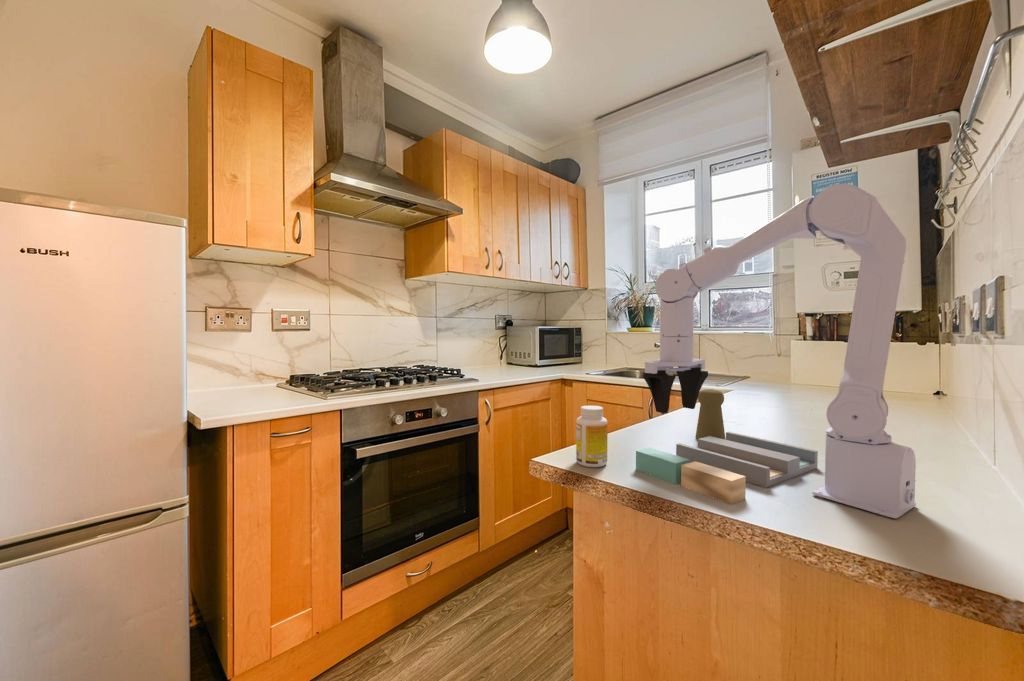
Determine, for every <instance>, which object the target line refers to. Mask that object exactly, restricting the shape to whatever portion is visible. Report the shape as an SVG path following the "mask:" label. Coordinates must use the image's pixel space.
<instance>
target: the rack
mask: <svg viewBox="0 0 1024 681" xmlns="http://www.w3.org/2000/svg"><path fill="white" fill-rule="evenodd" d="M725 439H726V440H725ZM725 439H720V438H716V437H712V436H708V437H704V438H700V439H698V440H697V446H696V447H695V446H691V445H687V444H684V443H680V442H678V443H676V445H675V446H676V447H675V451H676V452H675V455H676V456H679V457H683V458H686V459H689V460H690V463H691V462H694V461H696V462H700V463H703V464H706V465H710V466H713V467H716V468H720V469H723V470H726V471H730V472H733V473H736V474H740V475H743V476H746V481H747V482H746V483H749V482H751V483H750V484H752V483H753V485H755V484H756V486H758V485H759V486H758V487H762V488H765V487H766V488H765V489H767V488H770V487H773V486H775V485H777V484H780V483H782V482H785V481H788V480H790V479H792V478H795V477H798V476H800V475H803V474H806V473H808V472H811V471H813V470H816V469H817V468H818V459H819V458H818V456H819V455H818V450H816V449H815V450H814V449H810V448H806V447H802V446H796V445H793V444H789V443H788V444H787V443H782V442H777V441H773V440H769V439H765V438H761V437H759V438H758V437H755V436H750V435H746V434H741V433H737V432H732V431H725ZM772 485H773V486H772Z"/></svg>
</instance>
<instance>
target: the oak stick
mask: <svg viewBox="0 0 1024 681" xmlns="http://www.w3.org/2000/svg"><path fill="white" fill-rule="evenodd" d="M746 483H747V482H746V476H743V475H740V474H736V473H733V472H730V471H726V470H723V469H720V468H716V467H713V466H710V465H706V464H703V463H700V462H696V461H694V462H691V463H687V464H684V465H681V483H680V487H682V486H683V487H682V488H685V487H687V488H686V489H688V488H689V489H688V490H690V489H692V490H691V491H693V490H694V492H696V491H697V492H696V493H699V492H700V493H699V494H701V493H702V495H704V494H705V495H704V496H707V495H708V496H707V497H709V496H711V498H712V497H714V498H713V499H715V498H716V500H718V499H719V500H718V501H720V500H722V501H721V502H723V501H724V502H723V503H727V504H730V505H731V506H732V505H734V504H736V502H737V503H738V502H742V501H743V499H744V500H746V485H747V484H746ZM741 500H742V501H741Z"/></svg>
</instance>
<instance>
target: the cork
mask: <svg viewBox="0 0 1024 681" xmlns="http://www.w3.org/2000/svg"><path fill="white" fill-rule="evenodd" d="M697 401H698V402H699V404H700V405H699V406H700V407H699V412H698V419H697V423H696V424H697V425H696V431H695V437H694V439H695V438H696V439H697V441H698V439H700V438H704V437H708V436H712V437H716V438H720V439H725V440H726V431H725V425H724V417H723V409H722V405H723V404H724V402H725V395H724V393H723V391H721V390H718V389H714V388H713V389H712V388H708V389H707V388H706V389H700V392H699V395H698V398H697ZM696 439H695V440H696Z"/></svg>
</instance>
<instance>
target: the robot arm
mask: <svg viewBox="0 0 1024 681" xmlns="http://www.w3.org/2000/svg"><path fill="white" fill-rule="evenodd" d="M817 232H820V233H821V235H823V236H824V237H825V238H827V239H829V240H831V241H835V242H837V243H839V244H843V245H846V246H847V247H848V249H850V250H851V251H852V252H854V253H855V254H856V255H857V256H858V257H860V261H859V266H858V267H859V268H858V275H857V280H856V287H855V293H854V294H855V295H854V301H853V306H852V313H851V319H850V326H849V332H848V339H847V343H846V344H847V346H846V351H845V352H846V353H845V358H844V363H843V364H844V365H843V370H842V373H841V378H840V382H839V386H838V392H837V394H836V395H835V397H834V398H833V399H832V401H831V402H829V404H828V406H827V408H826V420H827V423H828V424H829V426H830V427H829V428H826V429H825V452H824V453H825V454H824V455H825V459H824V460H825V461H824V462H825V463H824V464H825V465H824V485H823V486H820V487H819V488H816V489H815V490H812V492H811V493H812V495H813V496H817V497H819V498H823V499H827V500H830V501H834V502H836V503H840V504H843V505H848V506H850V507H854V508H858V509H861V510H864V511H867V512H870V513H874V514H877V515H881V516H884V517H887V518H890V519H891V518H892V519H898V518H900V517H902V516H903V515H905V514H906V513H907V512H908V511H910V510H912V509H913V508H914V507H916V506H917V502H916V499H915V496H916V494H915V493H916V454H915V451H914V449H913V448H912V447H910V446H907V445H902V444H898V443H895V442H893V441H892V436H891V435H890V434H888V433H887V431H885V428H886V426H887V421H888V420H887V418H888V415H889V406H888V403H887V401H886V399H885V396H884V390H883V389H884V385H885V377H886V371H887V364H888V358H889V352H890V346H891V340H892V334H893V328H894V322H895V316H896V311H897V305H898V299H899V293H900V286H901V280H902V273H903V270H904V269H903V268H904V261H905V257H906V256H905V255H906V250H907V239H906V238H905V236H904V234H903V233H902V232H901V230H900V228H898V226H897V225H896V223H894V221H893V219H891V217H890V215H889V214H888V213H887V212H886V210H885V209H884V208H883V206H882V205H881V203H880V201H879V200H878V199H877V197H876V196H874V195H873V194H871V193H870V192H867V191H866V190H864V189H862V188H860V187H859V186H856V185H854V184H850V183H839V184H835V185H830V186H829V187H826V188H824V189H823V190H821V191H820V192H819V193H818V194H817V195H816V196H814V195H811V196H810V197H806V198H804V199H803V200H801V201H800V202H798V203H797V204H795V205H794V206H792V207H791V208H789V209H788V210H786V211H785V212H783V213H782V214H780V215H778V216H777V217H775V218H773V219H772V220H770V221H769V222H767V223H766V224H764V225H762V226H761V227H759V228H757V229H756V230H754V231H753V232H751V233H749V234H748V235H746V236H745V237H743V238H742V239H740V240H738V241H737V242H735V243H733V244H732V245H730V246H724V245H719V244H718V245H715V246H710V245H709V246H707V247H705V248H704V249H703V250H702V251H703V253H702V254H700V255H699V256H696V257H695V258H693V259H692V260H690V261H688V262H681V263H680V264H678V269H677V268H668V269H665V270H664V271H663V272H661V274H660V275H659V276H658V277H657V279H656V281H655V284H654V289H655V293H656V295H657V297H659V300H660V305H659V358H656V359H655V360H651V361H645V362H644V372H643V375H642V377H643V379H644V381H645V383H646V384H647V386H648V388H649V391H650V393H651V396H652V400H653V406H654V409H655V412H656V413H661V414H668V413H669V410H670V400H671V399H670V397H671V392H672V388H673V384H674V382H675V379H676V375H677V378H678V380H679V385H680V391H681V392H680V393H681V395H680V396H681V403H682V404H681V405H682V408H684V409H690V410H695V409H696V405H697V401H698V395H699V392H700V391H701V390H702V389H701V388H702V386H703V385H704V383H705V381H706V379H707V378H708V377H709V371H708V370H706V359H705V358H694V300H695V299H696V297H697V296H698V294H699V293H703V292H704V291H706V290H708V289H709V288H711V287H713V286H715V285H717V284H719V283H721V282H723V281H725V280H727V279H729V278H731V277H733V276H735V275H736V273H737V271H738V269H739V266H740V264H742V263H744V262H746V261H748V260H750V259H752V258H755V257H756V256H758V255H760V254H763V253H764V252H767V251H768V250H772V248H775V247H777V246H779V245H781V244H783V243H784V242H787V241H789V240H792V239H809V240H810V239H811V240H812V239H814V240H815V239H817ZM668 372H675V373H676V375H670V374H668Z"/></svg>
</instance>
